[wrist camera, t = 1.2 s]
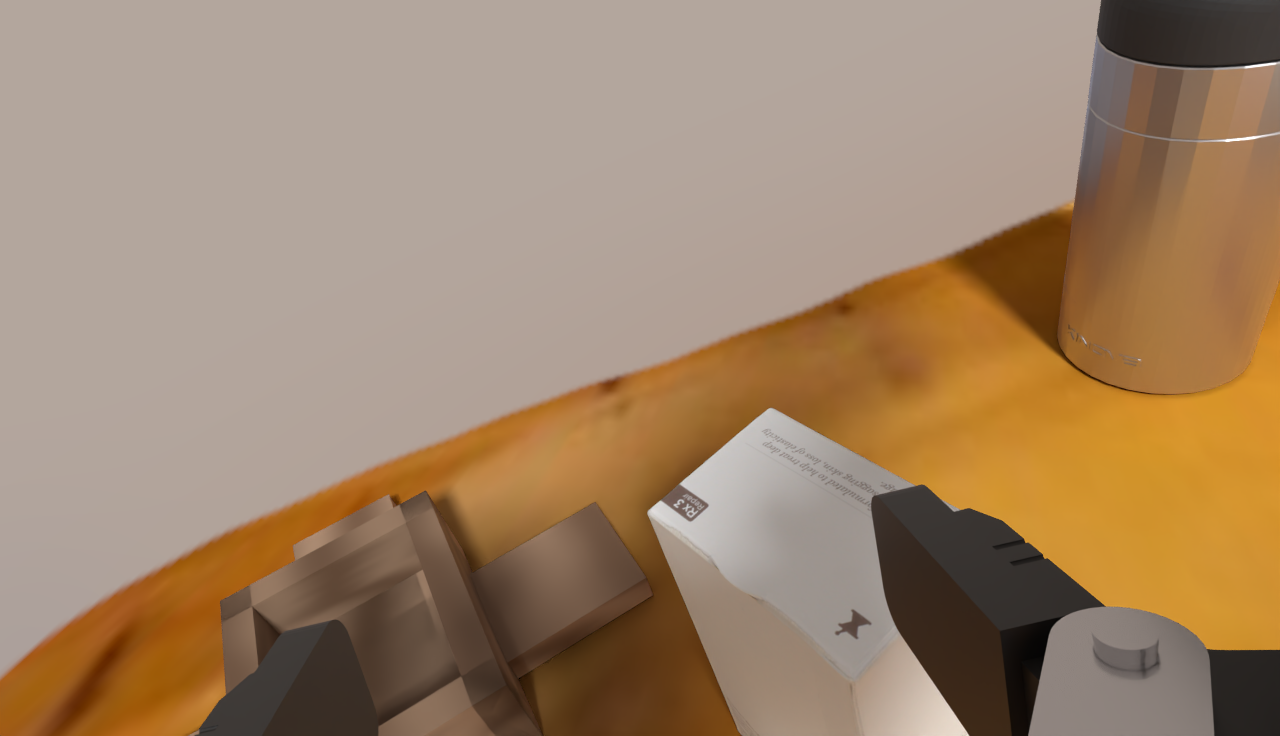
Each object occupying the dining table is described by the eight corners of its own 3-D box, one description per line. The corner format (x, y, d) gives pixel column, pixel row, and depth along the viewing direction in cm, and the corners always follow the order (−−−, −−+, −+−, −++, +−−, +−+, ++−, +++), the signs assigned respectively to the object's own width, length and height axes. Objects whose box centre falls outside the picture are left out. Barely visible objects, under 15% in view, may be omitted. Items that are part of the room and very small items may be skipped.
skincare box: (990, 772, 28) (1019, 525, 19) (887, 901, 26) (864, 691, 17) (817, 632, 34) (776, 391, 25) (721, 728, 32) (637, 502, 23)
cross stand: (543, 432, 49) (517, 374, 46) (757, 749, 31) (737, 689, 28) (136, 652, 43) (74, 602, 40) (107, 1203, 25) (-8, 1191, 22)
